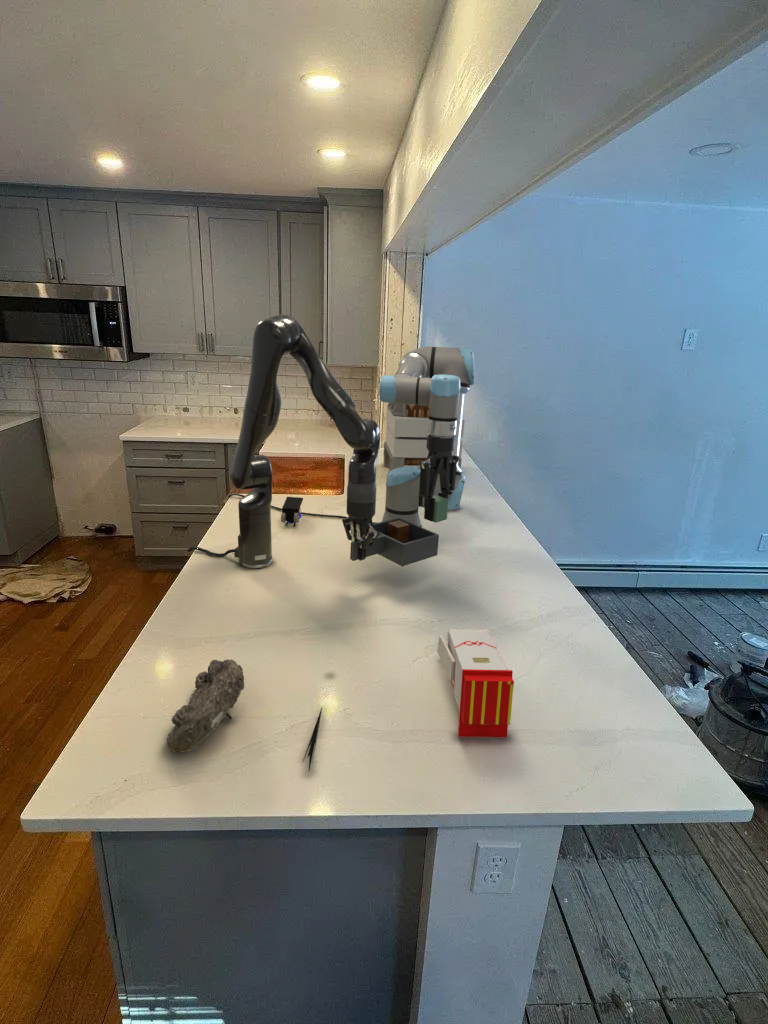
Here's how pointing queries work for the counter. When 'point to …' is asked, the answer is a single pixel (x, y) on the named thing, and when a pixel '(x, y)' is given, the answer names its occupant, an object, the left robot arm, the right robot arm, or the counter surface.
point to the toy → (478, 682)
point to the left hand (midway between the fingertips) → (359, 558)
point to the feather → (313, 740)
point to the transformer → (408, 435)
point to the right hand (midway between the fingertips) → (435, 517)
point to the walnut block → (398, 531)
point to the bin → (401, 544)
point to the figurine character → (291, 510)
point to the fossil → (206, 705)
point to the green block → (440, 508)
